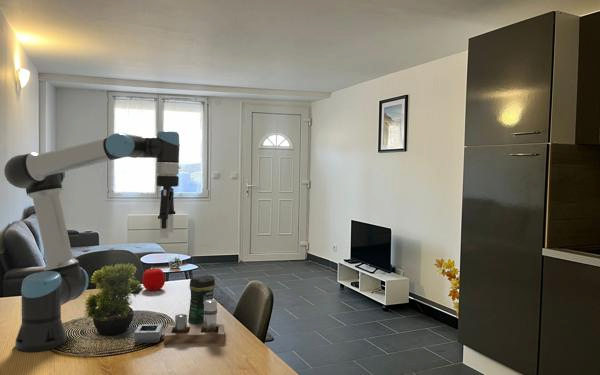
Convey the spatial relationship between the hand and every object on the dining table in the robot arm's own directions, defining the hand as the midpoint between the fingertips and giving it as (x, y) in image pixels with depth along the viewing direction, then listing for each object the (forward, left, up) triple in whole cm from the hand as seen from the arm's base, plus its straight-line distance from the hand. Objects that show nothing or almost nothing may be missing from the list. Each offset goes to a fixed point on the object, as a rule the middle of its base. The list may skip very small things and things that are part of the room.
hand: (166, 235), depth 168 cm
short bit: (+6, -5, -36) cm, 36 cm away
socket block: (-5, -4, -37) cm, 37 cm away
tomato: (-14, +64, -37) cm, 75 cm away
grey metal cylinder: (+16, -5, -36) cm, 39 cm away
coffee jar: (+12, +14, -37) cm, 41 cm away
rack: (+11, -5, -37) cm, 39 cm away
